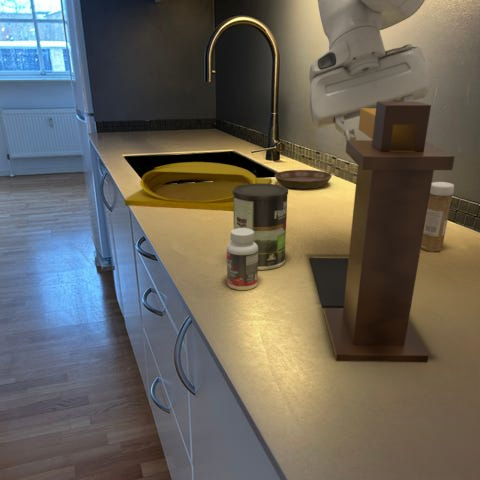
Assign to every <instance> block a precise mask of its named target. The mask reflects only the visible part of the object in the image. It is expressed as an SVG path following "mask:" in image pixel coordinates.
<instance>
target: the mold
mask: <svg viewBox="0 0 480 480" xmlns="http://www.w3.org/2000/svg"><path fill="white" fill-rule="evenodd" d="M176 181H200V182H201V181H202V182H225V183H245V184H256V183H265V184H272V178H271V177H270V178H269V177H265V178H264V177H257V176H256V175H255V174H253V172H251V171H249V170H248V169H245V168H243V167H239V166H237V165H231V164H226V163H219V162H208V161H207V162H206V161H205V162H204V161H191V162H190V161H188V162H187V161H185V162H175V163H169V164H164V165H160V166H156V167H155V168H154V169H151V170H149V171H147V172H145V173H143V175H142V177H141V180H140V182H139V183H140V187H141V189H140V190H139V191H138V192H136V193H134V194H133V195H131V196H129V197H127V198H126V199H125V200H124V205H125V206H134V207H135V206H136V207H154V208H155V207H156V208H172V209H173V208H175V209H192V210H193V209H195V210H210V211H211V210H213V211H231V212H232V211H233V194H232V195H229V196H226V197H219V198H213V199H202V200H201V199H199V200H198V199H197V200H196V199H195V200H194V199H193V200H192V199H178V198H171V197H167V196H162V195H159V194H157V193H155V191H156V190H157V189H159V188H161V187H162V186H164V185H165V184H167V183H171V182H176Z"/></svg>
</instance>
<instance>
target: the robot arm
mask: <svg viewBox="0 0 480 480" xmlns="http://www.w3.org/2000/svg"><path fill="white" fill-rule="evenodd" d="M425 1H426V0H317V6H318V12H319V17H320V21H321V25H322V28H323V29H322V30H323V32H324V35H325V36H326V38H327V39H328V51H326V52H325V53H324V54H322V55H321V56H319V57H318V58H316V59H315V60H313V61H312V62H311V64H310V67H309V82H310V86H309V107H310V114H311V121H312V124H313V125H314V126H316V127H317V128H323V127H326V126H330V125H333V124H334V126H335V129H336V131H338V132H339V133H340V134H341V135H342V136H344V139H345V142H347V140H357V135H356V133H355V128H353V129H349V128H348V127H347V126H346V125H345V121H348V120H352V119H354V118H359V117H360V110H361V108H376V104H377V102H416V101H419V100H421V99H424V98H426V96H427V95H428V93H429V92H430V91H431V87H432V79H431V75H430V72H429V70H428V68H427V65H426V64H425V56H424V53H423V49H422V48H421V47H418V46H417V45H412V44H411V43H409V44H405V45H402V46H401V47H396V48H395V47H394V48H391V49H388V50H386V49H385V45H384V41H383V38H382V35H381V31H383V30H385V29H388V28H390V27H393V26H396V25H397V24H400V23H401V22H403V21H405V20H407V19H409V18H410V17H412V16H413V15H415V14H416V13H417V12H418V10H419V9H421V7H422V5H423V4H424V2H425Z"/></svg>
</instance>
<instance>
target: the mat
mask: <svg viewBox="0 0 480 480" xmlns="http://www.w3.org/2000/svg"><path fill="white" fill-rule="evenodd" d="M348 259H349V257H309V263H310V266H311V270H312V274H313V278H314V281H315V285H316V289H317V294H318V297H319V302H320V304H321V308H322V309H324V308H344V298H345V288H346V279H347V269H348Z"/></svg>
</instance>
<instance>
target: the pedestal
mask: <svg viewBox="0 0 480 480" xmlns="http://www.w3.org/2000/svg"><path fill="white" fill-rule="evenodd" d="M345 142H346V141H345ZM345 153H346V154H347V155H348V157H350V159H351V160H352V161H354V163H355V164H356V165H357V171H356V180H355V189H354V201H353V210H352V220H351V229H350V239H349V249H348V258H349V259H348V269H347V279H346V288H345V298H344V308H323V316H324V320H325V323H326V327H327V331H328V335H329V340H330V342H331V346H332V351H333V354H334V358H335V361H337V362H338V361H339V362H401V363H402V362H404V363H405V362H407V363H408V362H409V363H411V362H412V363H428V360H429V353H428V352H427V350H426V349H425V348H426V347H424V344H423V343H422V342H421V340H420V338H419V336H418V335H417V333H416V331H415V329H414V328H413V326H412V324H411V323H410V321H409V320H410V316H411V315H410V314H411V309H412V304H413V303H412V302H413V297H414V291H415V285H416V279H417V274H418V267H419V261H420V256H421V255H420V254H421V249H422V248H421V244H422V238H423V232H424V226H425V220H426V214H427V208H428V202H429V196H430V190H431V184H432V183H433V177H434V172H435V171H453V168H454V162H455V158H456V157H455V156H454V155H453V154H451V153H449V152H447V151H445V150H442V149H441V148H439V147H437V146H434V145H433V144H431V143H429V142H427V141H425V148H424V152H381V151H379V150H378V149H377V148H376V147H374V146H373V145H372V139H370V140H367V139H366V140H359V139H356V140H347V142H346V144H345Z"/></svg>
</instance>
